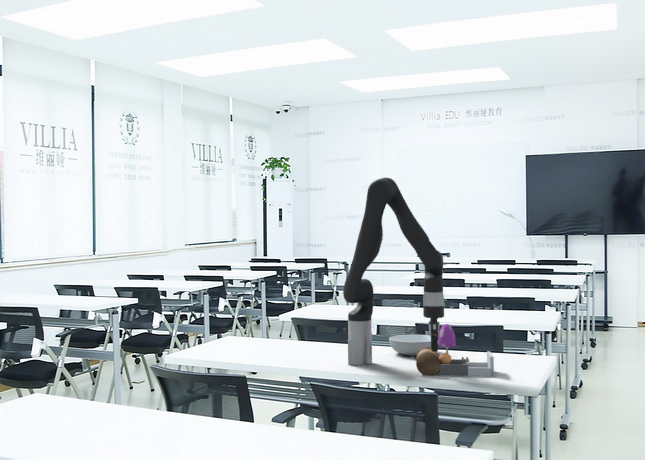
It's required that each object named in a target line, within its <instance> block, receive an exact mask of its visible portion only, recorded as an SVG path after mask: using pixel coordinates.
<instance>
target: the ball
mask: <svg viewBox="0 0 645 460" xmlns="http://www.w3.org/2000/svg"><path fill="white" fill-rule="evenodd" d="M438 356H439V361H440V363H441V364H449V363H450V362H451V359H452V356H451V354H449V352H448V353H446V352H443V353H441V354H440V355H438Z"/></svg>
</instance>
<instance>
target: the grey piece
mask: <svg viewBox="0 0 645 460" xmlns="http://www.w3.org/2000/svg"><path fill="white" fill-rule="evenodd" d="M494 357H495V356H494V355H493V353H492V352H491V351H486V362H485V361H481V362H480V361H469V362H466V358H464V359H462V358H460V359H459V358H457V359H456V358H454V359H453V358H451V362H450V363H449V364H441V363H440V367H439V370H438V374H439V375H438V376H439V377H440V376H441V377H486V378H487V377H488V378H490V377H493V378H494V376H495V367H494V366H495V365H494V360H495V359H494Z"/></svg>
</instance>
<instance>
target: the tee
mask: <svg viewBox="0 0 645 460" xmlns="http://www.w3.org/2000/svg"><path fill="white" fill-rule="evenodd" d="M461 359H466V362H470V359H469V357H468V356H466V357H465V358H464V356H461Z"/></svg>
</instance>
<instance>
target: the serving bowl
mask: <svg viewBox="0 0 645 460" xmlns="http://www.w3.org/2000/svg"><path fill="white" fill-rule="evenodd" d="M388 340H389V344H390V347H391V348H392V349H393V351H395V352H397V353H398V354H402V355H405V356H411V357H416V355H417V353H418V351H419V350H420V349H422V348H424V347H430V348H431V337H430V334H429V335H427V334H399V335H394V336H389V339H388Z"/></svg>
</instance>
